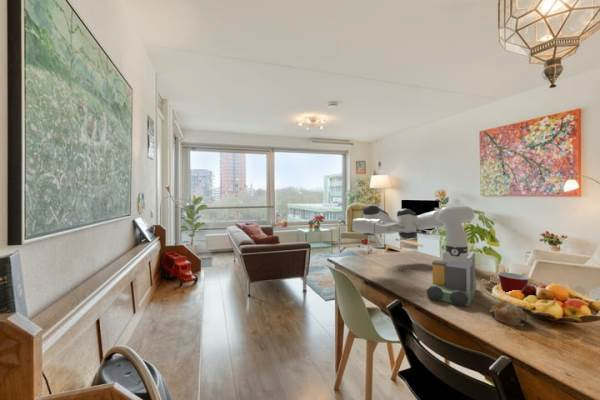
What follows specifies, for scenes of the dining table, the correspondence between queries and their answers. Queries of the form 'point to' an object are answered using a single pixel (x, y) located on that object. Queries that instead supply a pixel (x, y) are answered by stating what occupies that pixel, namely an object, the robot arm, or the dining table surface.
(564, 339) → the dining table surface
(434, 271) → the orange tall cylinder
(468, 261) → the green wheeled cart
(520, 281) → the plastic cup
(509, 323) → the grey brown rounded lump
